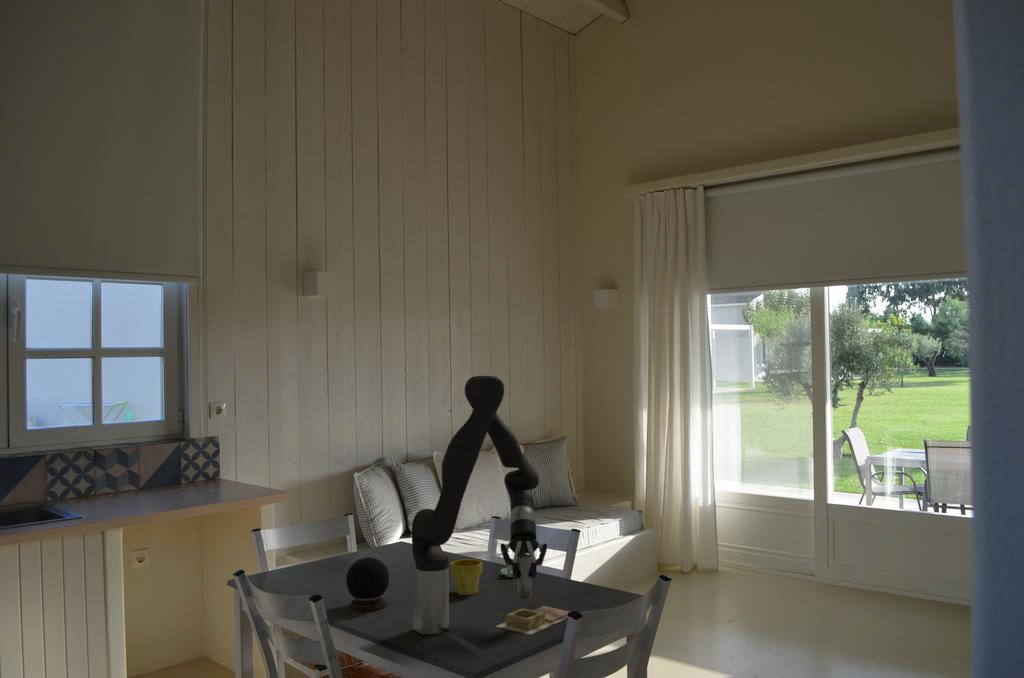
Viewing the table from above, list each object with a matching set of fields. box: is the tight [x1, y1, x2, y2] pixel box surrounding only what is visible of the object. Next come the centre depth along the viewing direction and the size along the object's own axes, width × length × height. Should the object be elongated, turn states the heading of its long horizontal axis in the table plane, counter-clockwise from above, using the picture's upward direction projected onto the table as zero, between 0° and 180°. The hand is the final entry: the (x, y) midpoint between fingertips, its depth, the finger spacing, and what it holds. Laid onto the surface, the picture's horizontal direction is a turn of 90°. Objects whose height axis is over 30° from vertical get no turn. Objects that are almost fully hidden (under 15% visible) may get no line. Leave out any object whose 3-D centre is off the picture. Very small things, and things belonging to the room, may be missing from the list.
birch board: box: [495, 605, 571, 635], centre depth 230 cm, size 23×12×4 cm, turn 142°
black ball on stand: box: [345, 556, 390, 613], centre depth 249 cm, size 13×13×15 cm
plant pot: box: [450, 558, 483, 596], centre depth 263 cm, size 10×10×10 cm
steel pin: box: [516, 552, 533, 599], centre depth 226 cm, size 4×4×12 cm
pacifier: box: [500, 562, 514, 578], centre depth 284 cm, size 7×6×6 cm
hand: (524, 577), depth 224 cm, fingers closed on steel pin, 4 cm apart
